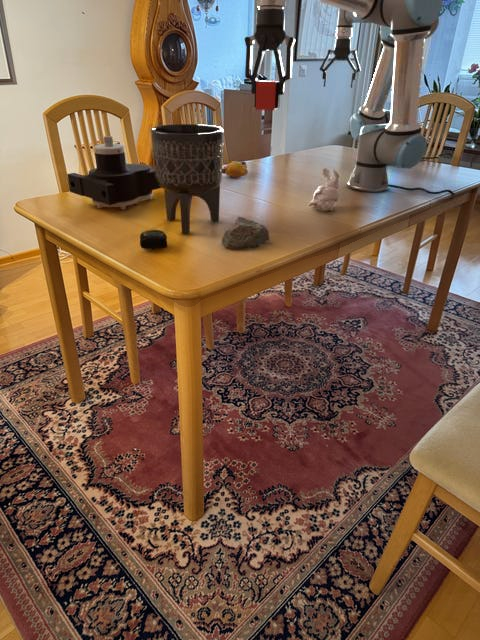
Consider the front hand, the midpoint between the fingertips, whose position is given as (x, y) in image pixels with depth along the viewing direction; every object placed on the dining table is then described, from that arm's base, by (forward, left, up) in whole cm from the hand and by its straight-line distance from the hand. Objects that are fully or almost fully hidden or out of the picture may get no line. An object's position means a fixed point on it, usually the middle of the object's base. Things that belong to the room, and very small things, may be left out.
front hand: (267, 107), depth 130 cm
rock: (+3, +28, -31) cm, 42 cm away
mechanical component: (+46, -8, -31) cm, 56 cm away
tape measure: (+27, +34, -31) cm, 53 cm away
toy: (+13, -52, -31) cm, 62 cm away
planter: (+21, +14, -31) cm, 40 cm away
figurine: (-20, -8, -31) cm, 38 cm away
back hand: (-34, -120, 0) cm, 125 cm away
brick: (0, 0, 0) cm, 0 cm away
